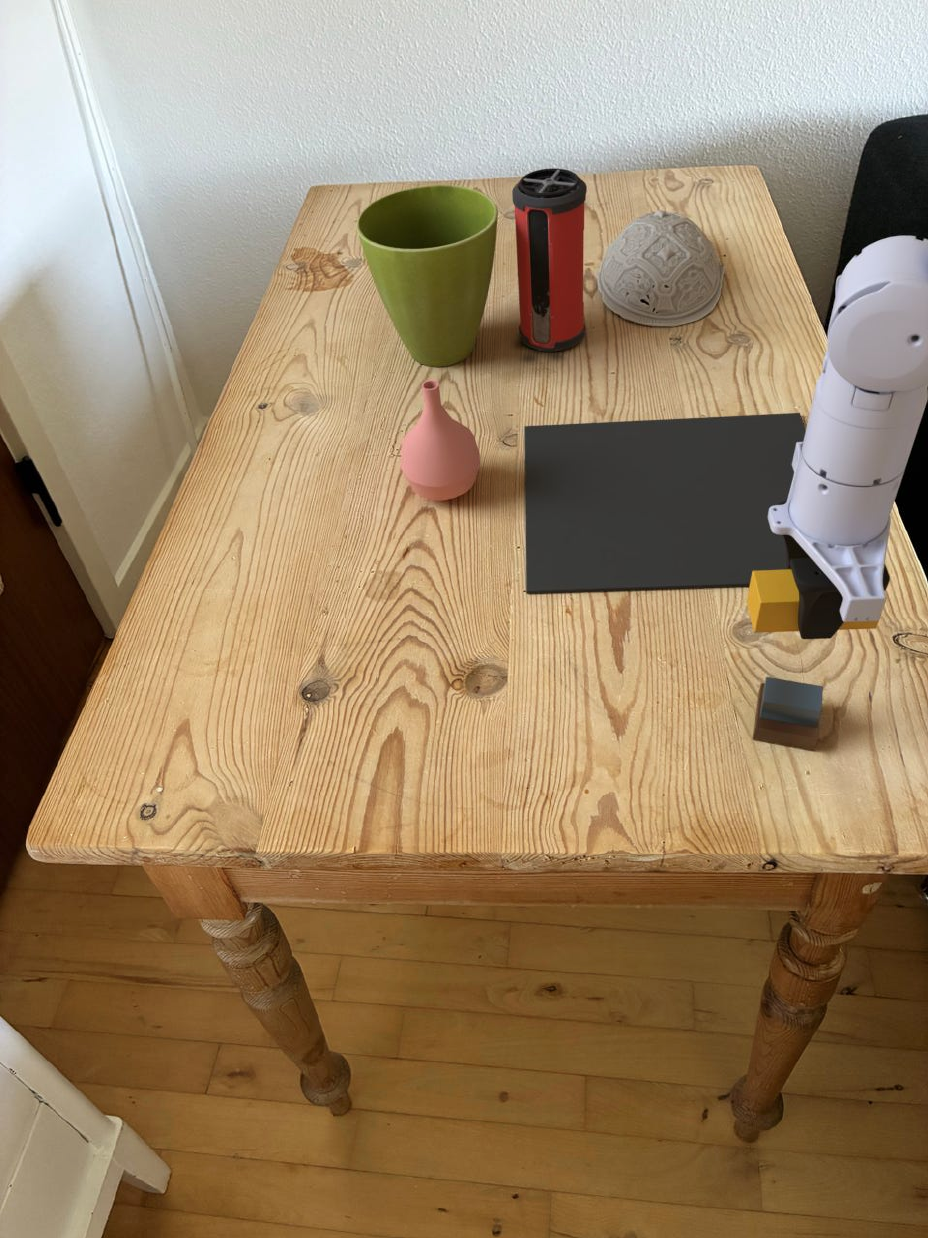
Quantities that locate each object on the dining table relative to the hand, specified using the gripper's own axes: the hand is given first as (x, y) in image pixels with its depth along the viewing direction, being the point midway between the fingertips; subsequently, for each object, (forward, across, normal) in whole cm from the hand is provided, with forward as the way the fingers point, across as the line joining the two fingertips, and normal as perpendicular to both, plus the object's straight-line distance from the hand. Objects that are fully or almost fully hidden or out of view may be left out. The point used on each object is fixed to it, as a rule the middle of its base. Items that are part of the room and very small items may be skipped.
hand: (809, 615), depth 64 cm
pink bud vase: (+10, -28, -28) cm, 40 cm away
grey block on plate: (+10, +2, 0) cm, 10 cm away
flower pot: (+10, -53, -29) cm, 61 cm away
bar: (0, 0, 0) cm, 0 cm away
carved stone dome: (+10, -68, -2) cm, 68 cm away
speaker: (+10, -55, -16) cm, 58 cm away
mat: (+10, -25, -5) cm, 27 cm away
